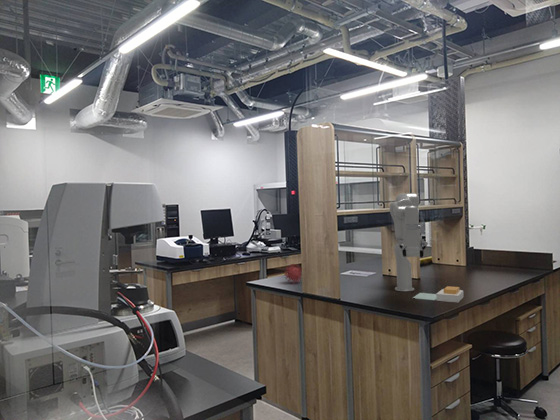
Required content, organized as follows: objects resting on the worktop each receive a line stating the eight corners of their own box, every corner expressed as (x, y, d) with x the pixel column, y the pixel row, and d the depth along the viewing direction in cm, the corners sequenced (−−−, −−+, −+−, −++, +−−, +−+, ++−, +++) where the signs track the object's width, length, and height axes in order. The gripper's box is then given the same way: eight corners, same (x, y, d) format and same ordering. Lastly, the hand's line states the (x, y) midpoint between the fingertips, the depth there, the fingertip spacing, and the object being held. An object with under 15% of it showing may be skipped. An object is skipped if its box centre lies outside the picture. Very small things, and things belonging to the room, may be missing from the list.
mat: (419, 293, 265) (419, 292, 265) (441, 295, 258) (441, 294, 258) (412, 298, 252) (412, 297, 252) (434, 300, 244) (434, 299, 244)
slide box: (447, 290, 253) (447, 286, 253) (459, 291, 249) (459, 287, 249) (443, 293, 244) (443, 289, 244) (456, 294, 240) (456, 290, 240)
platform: (442, 295, 257) (442, 288, 257) (463, 297, 250) (463, 290, 250) (436, 300, 244) (436, 293, 244) (458, 302, 237) (458, 295, 237)
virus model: (282, 284, 311) (281, 265, 311) (287, 281, 326) (286, 262, 325) (301, 285, 307) (300, 265, 307) (305, 281, 322) (305, 262, 322)
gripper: (429, 227, 238) (430, 256, 238) (399, 227, 248) (400, 255, 249) (425, 227, 232) (426, 258, 232) (395, 227, 242) (396, 257, 242)
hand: (413, 256), depth 240 cm, fingers open, 9 cm apart
